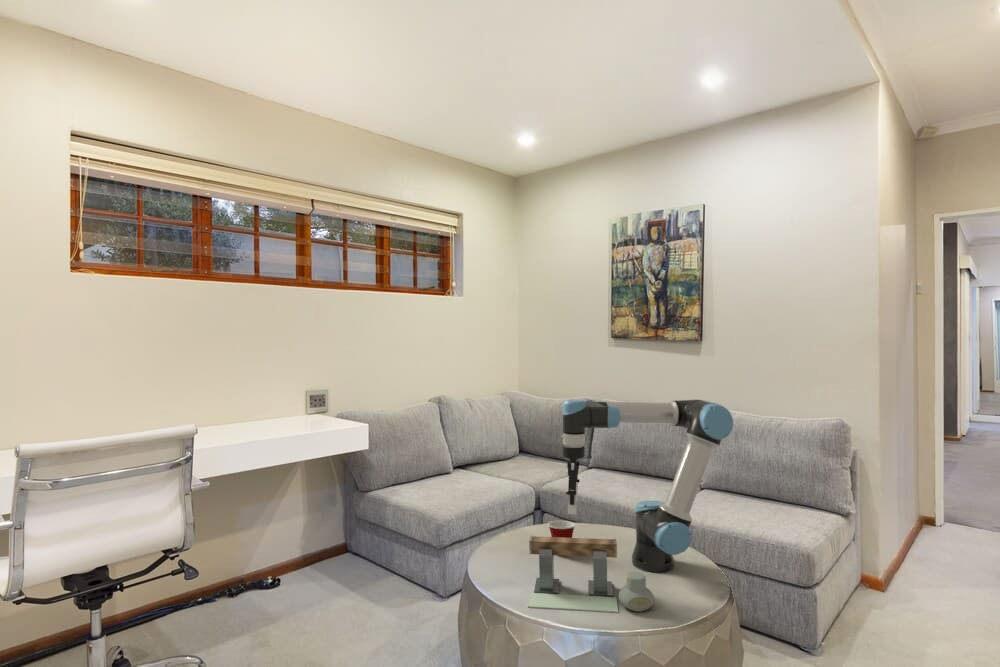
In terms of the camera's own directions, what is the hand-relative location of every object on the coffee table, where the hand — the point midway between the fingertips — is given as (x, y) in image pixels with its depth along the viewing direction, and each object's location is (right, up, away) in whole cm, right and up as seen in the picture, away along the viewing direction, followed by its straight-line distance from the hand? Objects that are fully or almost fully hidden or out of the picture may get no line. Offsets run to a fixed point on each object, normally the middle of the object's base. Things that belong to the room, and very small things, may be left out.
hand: (572, 507), depth 186 cm
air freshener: (+18, -27, -14) cm, 36 cm away
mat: (-1, -27, -11) cm, 29 cm away
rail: (0, -15, -1) cm, 15 cm away
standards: (0, -27, -1) cm, 27 cm away
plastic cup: (0, -28, +29) cm, 40 cm away
